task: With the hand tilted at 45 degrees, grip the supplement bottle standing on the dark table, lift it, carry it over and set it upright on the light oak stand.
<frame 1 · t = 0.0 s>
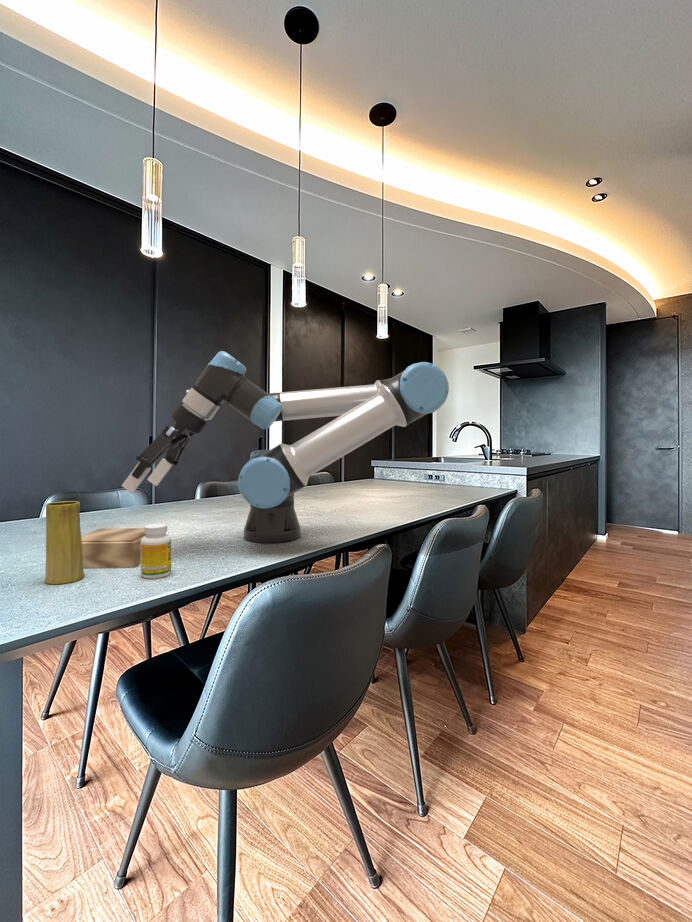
hand: (140, 485, 96), 15 cm above the table, tool tilted 35°, fingers open, 13 cm apart
stand: (116, 558, 91), on the table
vase: (65, 580, 77), on the table
supplement bottle: (156, 575, 80), on the table
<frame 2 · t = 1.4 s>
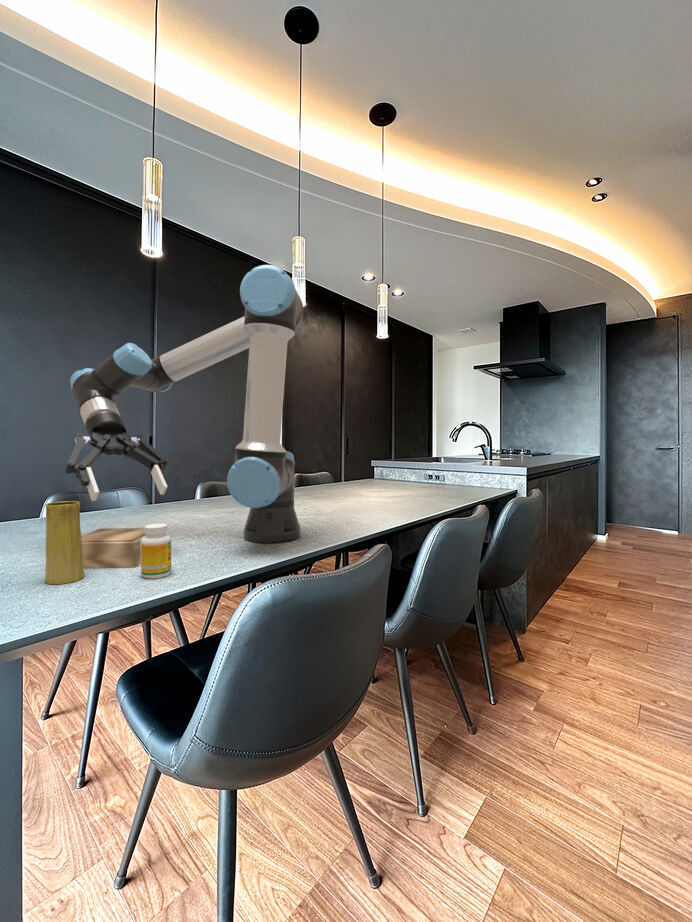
hand: (131, 493, 86), 15 cm above the table, tool tilted 45°, fingers open, 13 cm apart
nothing on the table moved.
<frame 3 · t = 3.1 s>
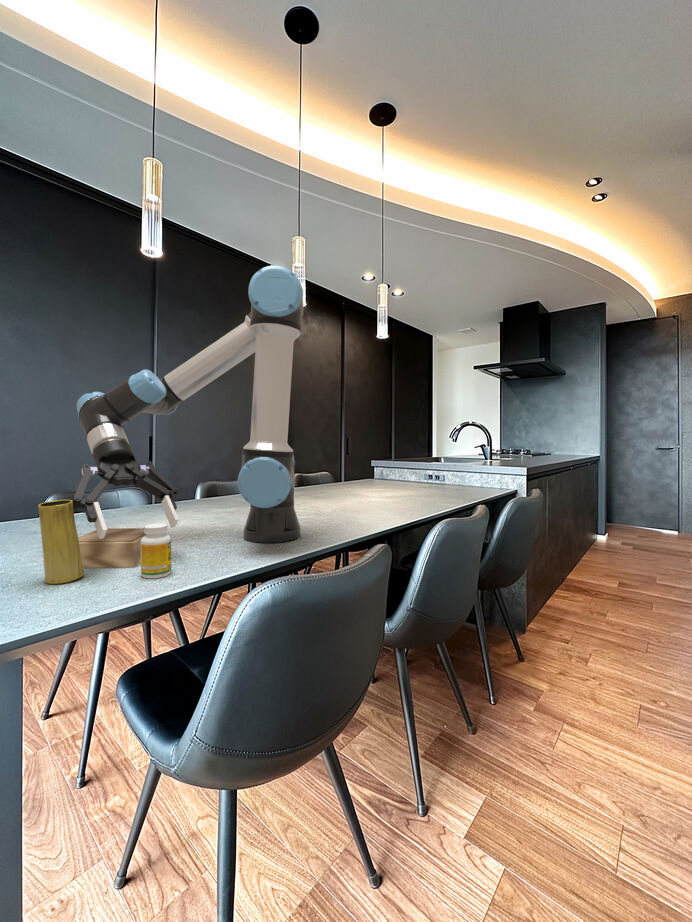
hand: (141, 528, 81), 9 cm above the table, tool tilted 45°, fingers open, 13 cm apart
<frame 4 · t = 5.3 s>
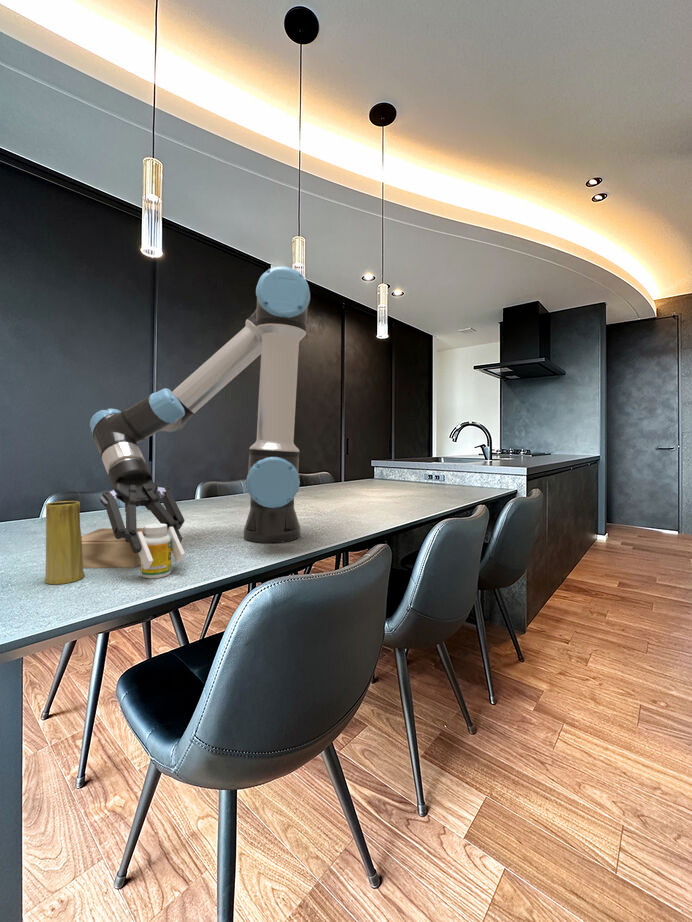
hand: (165, 561, 78), 3 cm above the table, tool tilted 45°, fingers closed on supplement bottle, 5 cm apart
supplement bottle: (156, 575, 80), on the table, touching gripper
when the fingers open (9 cm above the table, at t = 9.3 s): supplement bottle stays where it is, resting on stand.
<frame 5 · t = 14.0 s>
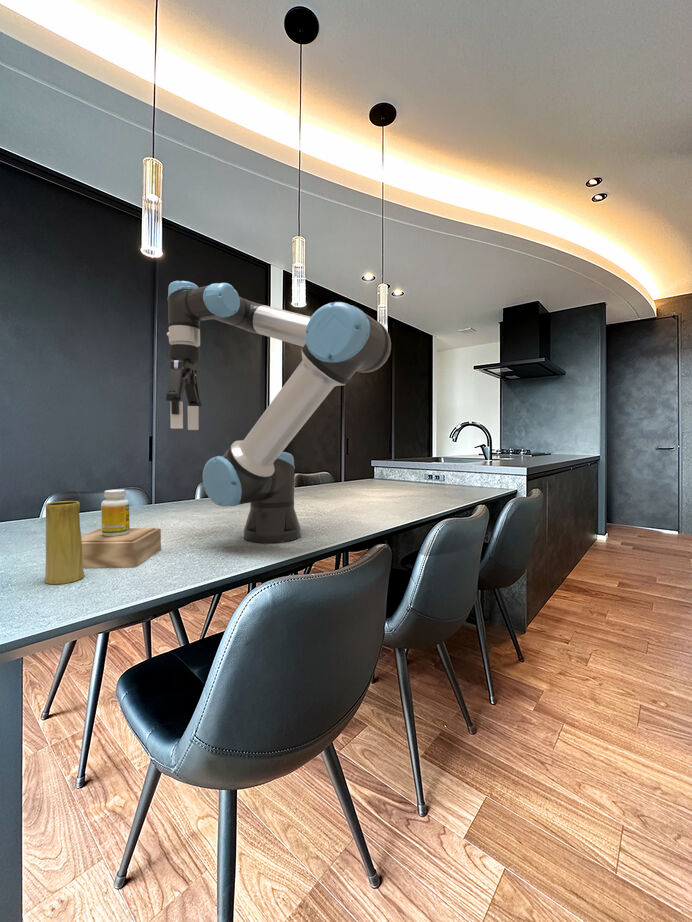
hand: (185, 429, 107), 29 cm above the table, tool pointing down, fingers open, 13 cm apart
supplement bottle: (115, 534, 91), point 5 cm above the table, touching stand
everything else where it was.
at the end: supplement bottle 0.1 cm from the stand (horizontally); supplement bottle tilted 0°; the gripper is holding nothing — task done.
